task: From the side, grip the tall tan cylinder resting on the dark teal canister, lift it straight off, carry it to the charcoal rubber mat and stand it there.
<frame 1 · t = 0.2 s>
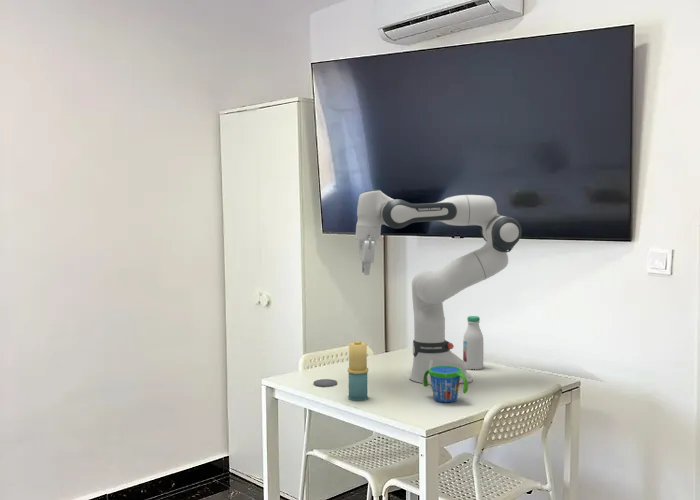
hand: (365, 273, 249), 39 cm above the table, tool pointing down, fingers open, 8 cm apart
snack cup: (445, 400, 227), on the table
milk bottle: (473, 368, 270), on the table
tan cylinder: (357, 371, 229), point 9 cm above the table, touching canister
canister: (358, 398, 230), on the table
mat: (325, 383, 248), on the table
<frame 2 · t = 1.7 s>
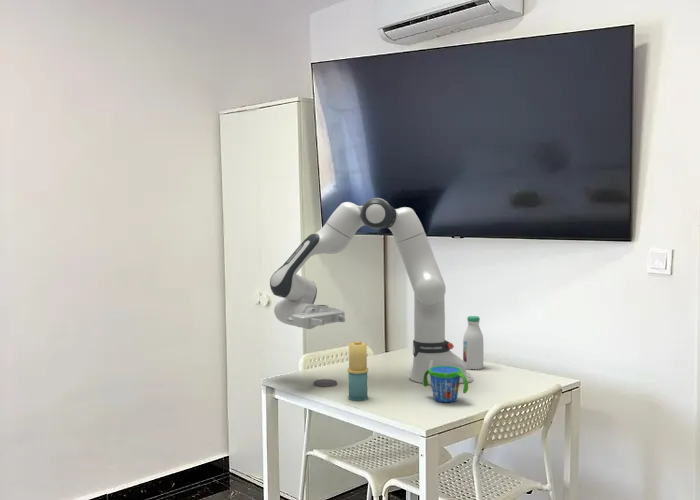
hand: (333, 321, 237), 24 cm above the table, tool horizontal, fingers open, 8 cm apart
nothing on the table moved.
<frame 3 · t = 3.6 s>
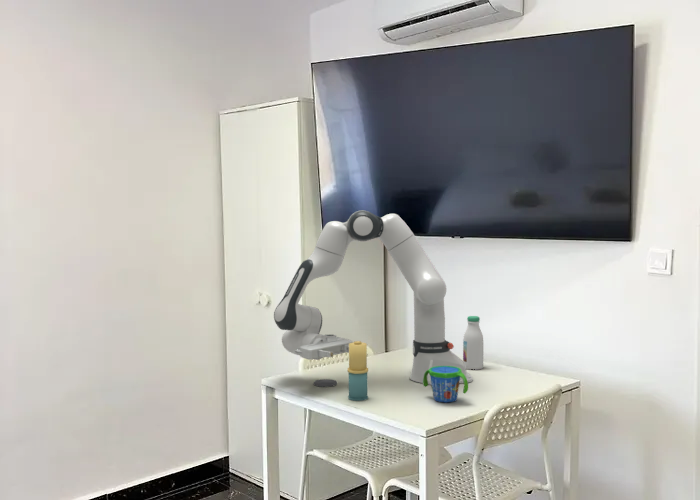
hand: (341, 352, 235), 14 cm above the table, tool horizontal, fingers open, 8 cm apart
nothing on the table moved.
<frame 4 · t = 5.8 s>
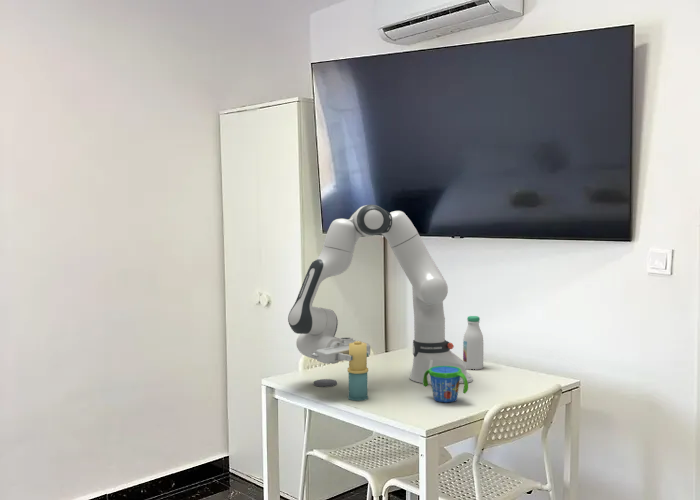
hand: (359, 356, 228), 14 cm above the table, tool horizontal, fingers closed on tan cylinder, 6 cm apart
tan cylinder: (357, 371, 229), point 9 cm above the table, touching canister, gripper
everything else where it was.
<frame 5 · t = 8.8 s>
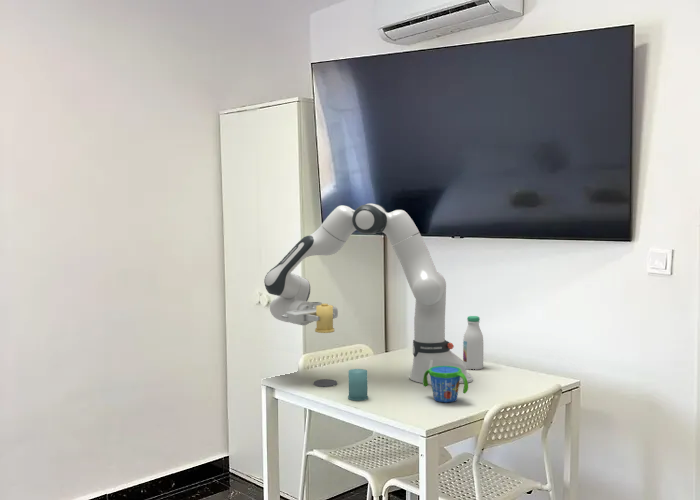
hand: (326, 317, 246), 24 cm above the table, tool horizontal, fingers closed on tan cylinder, 6 cm apart
tan cylinder: (324, 331, 247), point 19 cm above the table, touching gripper
everything else where it was.
when the fingers open (7 cm above the table, at t = 11.9 s): tan cylinder drops 1 cm, resting on mat.
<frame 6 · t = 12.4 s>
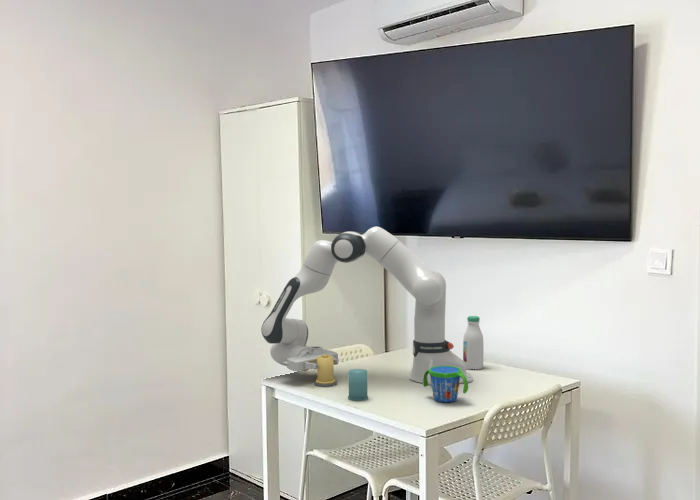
hand: (326, 364, 247), 7 cm above the table, tool horizontal, fingers open, 8 cm apart
tan cylinder: (325, 382, 248), point 1 cm above the table, touching mat
everything else where it was.
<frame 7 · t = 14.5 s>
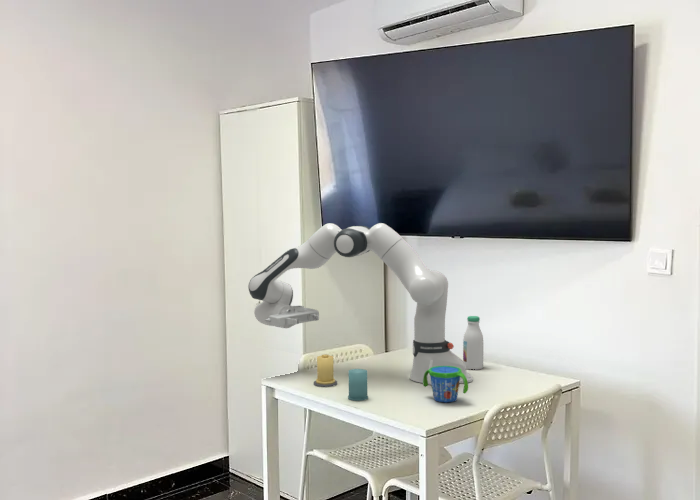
hand: (307, 320, 257), 21 cm above the table, tool horizontal, fingers open, 8 cm apart
nothing on the table moved.
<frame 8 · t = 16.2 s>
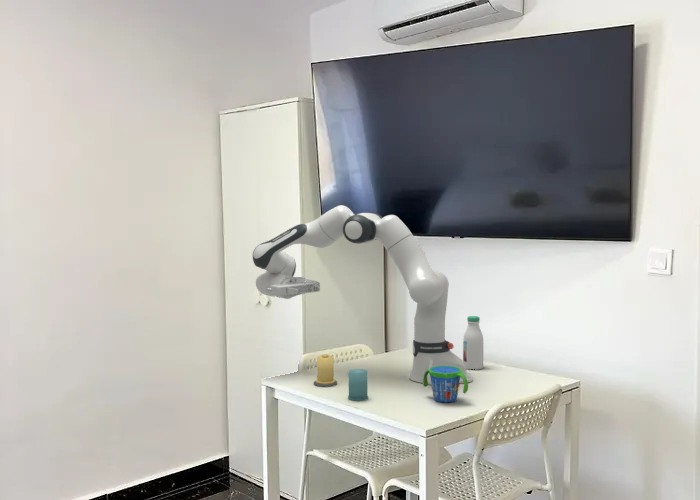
hand: (308, 290, 257), 32 cm above the table, tool horizontal, fingers open, 8 cm apart
nothing on the table moved.
at the end: tan cylinder 0.1 cm from the mat (horizontally); tan cylinder point 0.6 cm above the table; tan cylinder tilted 0° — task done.
